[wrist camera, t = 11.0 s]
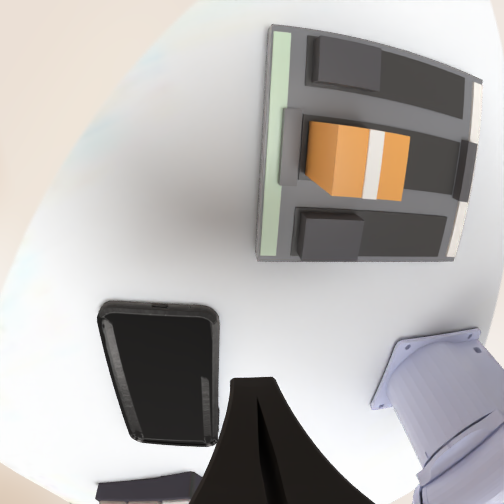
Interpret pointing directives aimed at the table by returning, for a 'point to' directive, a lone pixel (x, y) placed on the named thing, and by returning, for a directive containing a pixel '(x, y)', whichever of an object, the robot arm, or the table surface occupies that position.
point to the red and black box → (150, 490)
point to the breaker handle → (357, 161)
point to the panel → (371, 117)
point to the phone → (164, 370)
